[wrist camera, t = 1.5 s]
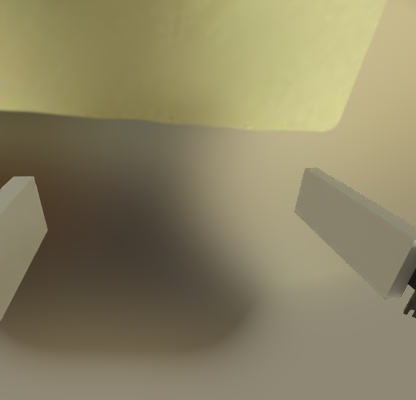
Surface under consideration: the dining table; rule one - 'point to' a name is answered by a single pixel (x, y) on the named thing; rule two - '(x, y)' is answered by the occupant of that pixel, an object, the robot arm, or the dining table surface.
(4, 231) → the robot arm
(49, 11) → the dining table surface
